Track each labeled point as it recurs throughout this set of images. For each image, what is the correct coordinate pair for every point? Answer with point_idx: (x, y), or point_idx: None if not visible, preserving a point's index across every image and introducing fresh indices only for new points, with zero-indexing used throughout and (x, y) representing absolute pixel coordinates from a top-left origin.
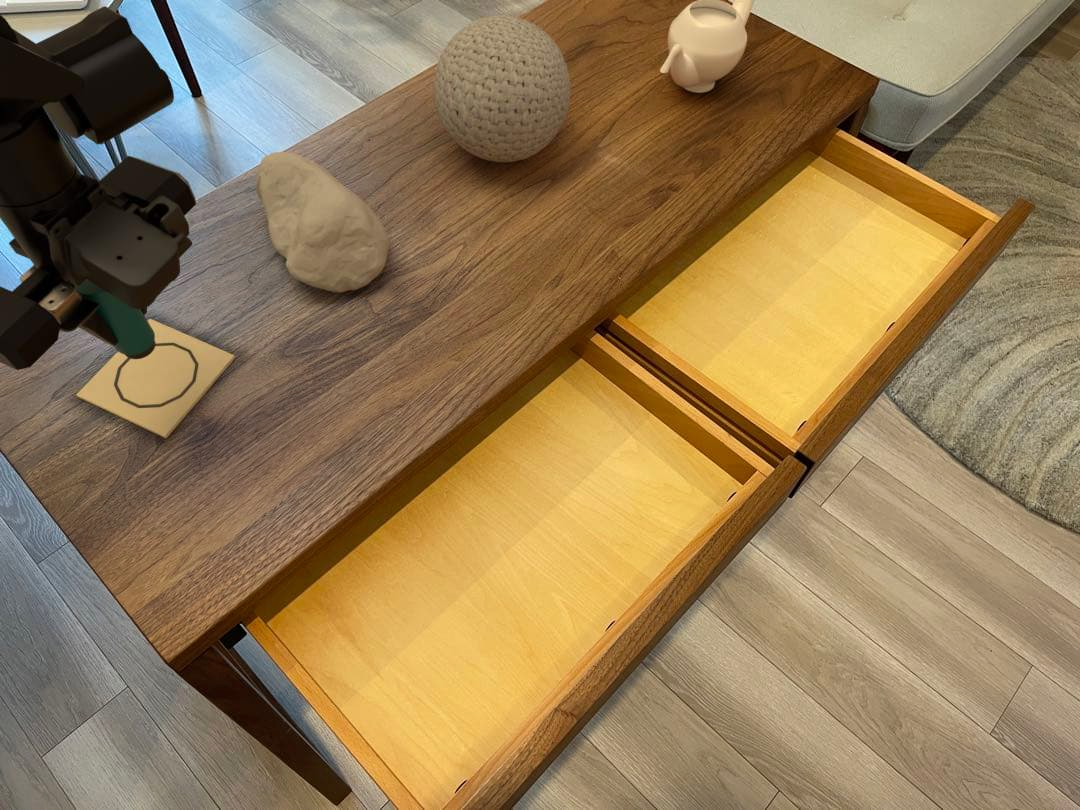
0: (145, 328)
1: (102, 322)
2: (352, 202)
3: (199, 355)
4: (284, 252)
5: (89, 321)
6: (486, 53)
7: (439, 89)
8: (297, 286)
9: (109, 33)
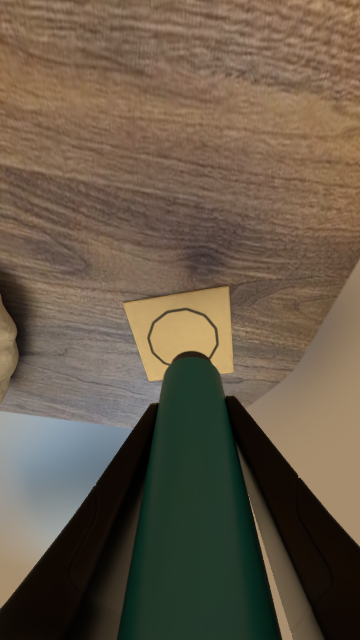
0: (175, 385)
1: (267, 489)
2: None
3: (145, 327)
4: (8, 348)
5: (356, 580)
6: None
7: None
8: (32, 316)
9: None
